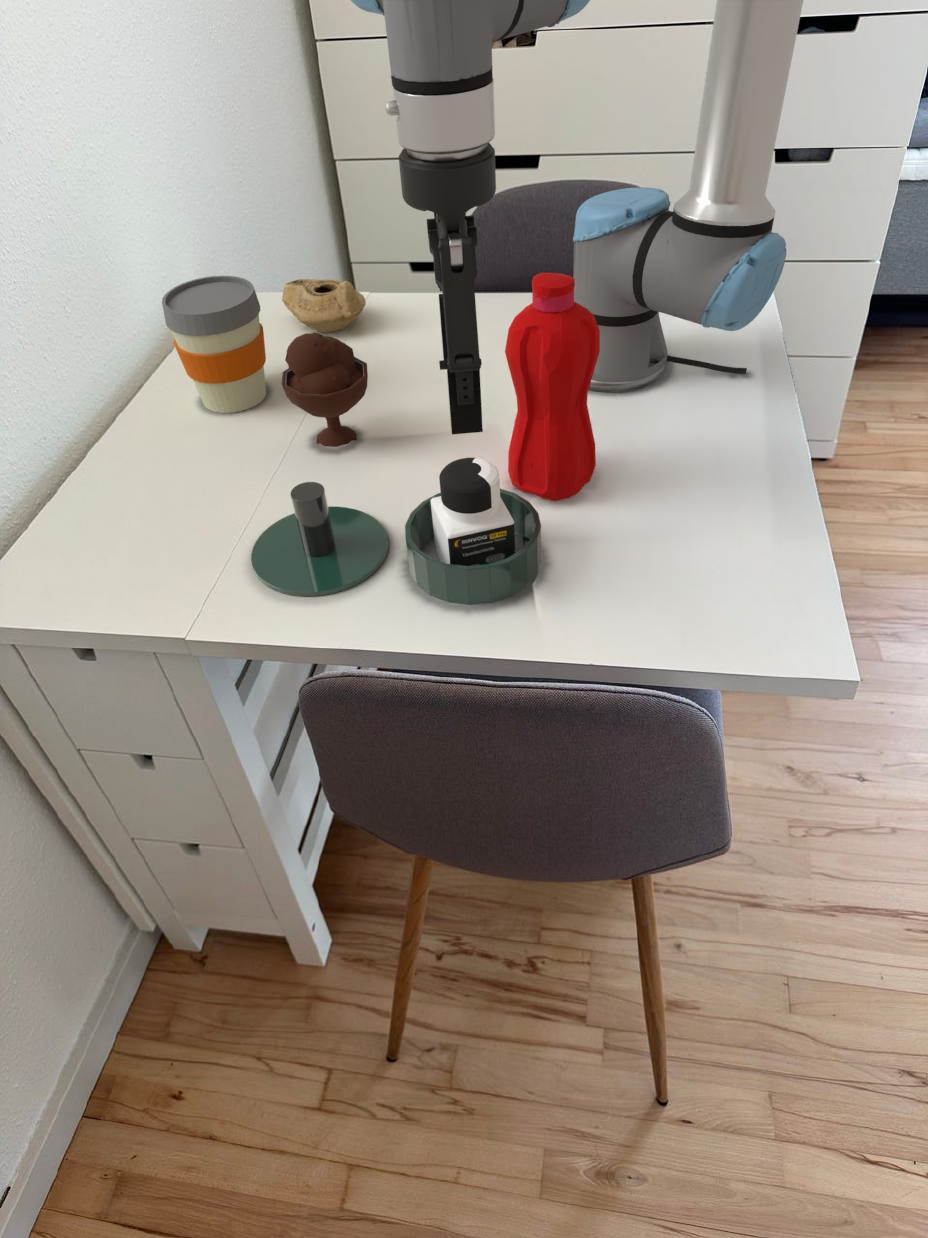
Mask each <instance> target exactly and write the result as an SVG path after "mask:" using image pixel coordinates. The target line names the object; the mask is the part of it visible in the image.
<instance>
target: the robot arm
mask: <svg viewBox="0 0 928 1238" xmlns="http://www.w3.org/2000/svg"><path fill="white" fill-rule="evenodd" d="M350 1H351V3H353V5H355V7H357V8H358V9H360V10H362V11H364V12H367V13H373V14H378V15H382V16H383V17H384V23H385V33H386V41H387V42H386V43H387V49H388V50H387V51H388V60H389V66H390V67H389V69H390V75H391V76H390V78H391V85H392V87H393V88H392V96H393V97H394V100H390V101H386V104H385V113H386V114H387V115H388V116H396V119H395V127H396V137H397V139H396V140H397V143H398V145H400V146H401V147H402V150H401V152H400V153H399V155H398V167H399V175H400V177H399V178H400V186H401V195H402V199H403V201H404V202H405V203H406V204H407V206H409V207H411V208H413V209H415V210H417V211H421V212H427V211H428V212H432V213H433V218H426V229H427V230H426V231H427V239H428V247H429V253H430V254H431V255H432V258H433V270H434V271H433V272H434V281H435V285H436V286H437V288H438V289H439V292H441V293H438V304H439V305H438V306H439V318H440V330H441V331H440V332H441V344H442V345H441V346H442V357H443V360H439V362H438V363H439V370H440V371H444V370H446V375H447V389H448V402H449V416H450V428H451V429H450V431H451V435H452V436H453V435H463V434H475V433H483V432H484V431H483V412H482V411H483V410H482V409H483V407H482V393H481V392H482V390H481V369H482V366H483V365H482V358H481V357H480V347H479V332H478V318H477V304H476V292H475V283H476V282H477V278H478V277H477V276H478V268H477V257H476V251H477V248H478V231H477V226H475V216H474V215H467V212H469V211H470V210H471V209H473V208H475V207H476V208H479V207H481V206H484V205H485V204H487V203H489V202H491V200H492V199H493V197H495V194H496V191H497V181H496V180H497V178H496V177H497V175H496V149H495V148H494V147H493V146H492V144H491V141H492V140H493V139H494V138H495V136H496V122H495V121H496V119H495V118H496V117H495V87H494V85H495V84H494V83H495V82H494V77H493V75H494V74H493V68H494V67H493V43H495V42H498V41H499V42H500V41H501V40H504V39H508V38H511V37H515V36H518V35H522V34H525V33H528V32H529V33H530V32H532V31H535V30H539V29H542V28H546V27H547V28H552V27H556V25H559V24H560V23H561V22H563V21H565V20H567V19H570V18H572V17H574V16H576V15H578V14H579V13H581V12H582V11H583V10H584V9H585V8H586V6H588V4H589V3H590V1H591V0H350ZM803 5H804V0H716V4H715V9H714V10H715V12H714V18H713V25H712V32H711V37H710V38H711V40H710V44H709V51H708V57H707V58H708V60H707V65H706V72H705V79H704V86H703V93H702V100H701V107H700V112H699V113H700V114H699V121H698V127H697V128H698V129H697V134H696V142H695V148H694V155H693V162H692V169H691V175H690V182H689V188H688V190H687V192H686V193H685V194H683V195H682V196H681V197H680V198H679V199H677V201H675V203H674V204H673V210H672V211H671V210H670V207H671V201H670V196H669V194H668V193H667V192H665V190H663V189H660V188H658V187H657V188H656V187H649V186H648V187H645V186H644V187H643V186H641V187H626V188H620V189H614V190H611V191H610V190H609V191H605V192H603V193H599V194H597V195H594V196H591V197H590V198H588V199H586V200H584V202H582V204H581V205H580V206H579V207H578V208H577V211H576V214H575V223H574V232H573V236H572V242H573V276H572V277H573V278H574V279H575V287H574V302H576V303H578V304H580V305H581V306H583V307H585V308H587V309H588V310H589V311H590V312H591V313H592V314H593V315H594V317H595V319H596V322H597V324H598V327H599V330H600V352H599V356H598V359H597V363H596V366H595V369H594V373H593V376H592V380H591V383H590V387H589V390H591V391H596V392H607V393H617V392H618V393H619V392H620V393H621V392H629V391H635V390H639V389H642V388H645V387H649V386H650V385H652V384H653V385H654V383H656V382H658V381H659V380H660V379H661V378H662V377H663V376H665V374H666V372H667V369H668V363H674V364H680V365H685V366H690V367H691V366H692V367H697V368H702V369H707V370H712V371H717V372H721V373H726V374H727V373H728V374H735V375H747V372H748V371H747V370H748V369H747V367H735V366H726V365H722V364H715V363H712V362H706V361H702V360H696V359H690V358H685V357H680V356H673V355H669V354H668V353H669V352H668V347H667V343H666V338H665V335H664V334H665V333H664V330H663V326H662V323H661V318H660V313H661V314H665V315H668V316H671V317H675V318H677V319H681V320H684V321H688V322H690V323H695V324H698V325H701V326H702V327H703V328H706V329H707V328H713V329H718V330H722V331H728V332H735V331H739V330H741V329H744V328H746V327H747V326H748V325H749V324H750V323H752V322H753V321H754V320H755V319H756V318H758V316H759V315H760V313H761V312H762V310H763V309H764V308H765V306H766V305H767V304H768V302H769V300H770V298H771V297H772V295H773V294H774V291H775V290H776V287H777V285H778V283H779V280H780V278H781V275H782V273H783V270H784V267H785V264H786V258H787V242H786V239H785V238H784V237H783V236H782V235H780V233H779V232H773V227H774V226H773V225H774V220H775V216H776V209H775V208H774V206H773V205H772V203H771V202H770V201H769V199H768V198H767V195H766V192H767V187H768V182H769V177H770V172H771V168H772V167H771V166H772V162H773V157H774V152H775V147H776V141H777V137H778V131H779V125H780V121H781V116H782V111H783V107H784V106H783V105H784V101H785V96H786V92H787V91H786V90H787V85H788V80H789V77H790V76H789V75H790V70H791V65H792V61H793V56H794V50H795V44H796V40H797V35H798V30H799V25H800V20H801V15H802V10H803Z"/></svg>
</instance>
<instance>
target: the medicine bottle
mask: <svg viewBox="0 0 928 1238" xmlns="http://www.w3.org/2000/svg"><path fill="white" fill-rule="evenodd" d="M438 476H439V477H438V478H439V489H440V493H441V496H439V497H435V498H432V499H431V510H432V520H433V530H434V536H433V539H434V548H435V549H434V550H435V552H436V554H437V556H438V559H439V561H441V562H444V563H447V564H454V565H463V566H473V565H483V564H490V563H493V562H496V561H500V560H503V559H506V558H508V557H510V556H511V555H513V554H515V553H516V540H515V539H516V537H515V535H516V534H515V533H516V532H515V531H514V520H513V518H512V517H511V515H510V513H509V511H508V510H507V508H506V506H505V504H504V502H503V501H502V499H501V497H500V489H501V486H500V485H501V484H500V470H499V469H498V467H497V466H496V465H494V463H492V462H491V461H489V460H486V459H484V458H480V457H463V458H458V459H455V460H452V461H451V462H449V463H448V464H446V465H445V466H444V467H443V469H442V470H441V471H440V473H439V475H438Z"/></svg>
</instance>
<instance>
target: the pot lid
mask: <svg viewBox="0 0 928 1238" xmlns="http://www.w3.org/2000/svg"><path fill="white" fill-rule="evenodd" d="M290 499H291V503H292V508H293V512H294V513H291V514H288V515H287V516H284V517H282V518H281V519H279V520H277V521H275V522H274V523H272V524H271V525H270V526H268V527H267V528H266V529H264V530H263V532H262V533H261V534H260V535H259V536H258V538H257V539H256V540H255V542H254V544H253V546H252V550H251V553H250V554H251V555H250V561H251V567H252V569H253V572H254V574H255V576H256V578H257V579H258V580H259V581H260V582H261V583H262V584H263V585H265V586H266V587H268V588H269V589H271V590H273V591H275V592H278V593H281V594H284V595H289V596H296V597H320V596H327V595H333V594H336V593H339V592H343V591H345V590H348V589H350V588H353V587H355V586H357V585H358V584H361V583H363V581H366V580H367V579H369V577H371V576H372V575H374V574H375V572H376V571H377V570H378V569H379V568H380V567H381V566H382V564H383V563H384V560H385V559H386V557H387V554H388V550H389V540H388V535H387V532H386V530H385V528H384V526H383V524H382V523H381V522H380V521H379V520H378V519H376V518H375V517H374V516H372V515H371V514H368V513H367V512H364V511H361V510H359V509H356V508H350V507H345V506H329V505H328V499H327V494H326V489H325V487H324V485H323V484H322V483H320V482H315V481H306V482H302V483H299V484H297V485H295V486H294V487H292V489H291V491H290Z"/></svg>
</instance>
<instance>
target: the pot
mask: <svg viewBox="0 0 928 1238" xmlns="http://www.w3.org/2000/svg"><path fill="white" fill-rule="evenodd" d="M439 496H441V492H438V493H436V494H434V495H432V496H430V497H428V498H426V499H425V500H423V501H422V502H420V503H419V505H417V506H416V507H415V508H414V509H413V510H412V511H411V512H410V513H409V516H408V518H407V521H406V522H405V525H404V533H405V534H404V535H405V544H406V551H407V560H408V561H407V562H408V567H409V568H408V569H409V573H410V576H411V577H412V579H413V580H414V581H413V582H415V584H416V586H417V587H419V588H420V589H421V590H423V591H424V592H425V593H427V594H428V595H430V597H433V598H435V599H439V600H440V601H441V600H442V601H443V602H447V603H451V604H459V605H469V606H473V605H484V604H493V603H495V602H498V601H502V600H504V599H508V598H511V597H513V596H515V595H516V594H518V593H519V592H521V591H523V590H524V589H526V588H527V587H528V586H529V585H530V584H531V585H533V584H534V583H535V581H536V579H537V577H538V576H539V574H540V570H541V565H542V523H541V519H540V513H539V512H538V511H537V510H536V508H535V507H534V506H533V504H531V502H530V501H529V500H527V499H525V498H524V497H522V496H521V495H519V494H517V493H515V492H514V491H513V492H512V491H509V490H506V489H502V488H500V497H501V499H502V501H503V502H504V504H505V506H506V508H507V510H508V511H509V513H510V515H511V517H512V518H513V520H514V531H515V533H516V534H517V535H519V536H520V537H522V541H523V542H522V543H523V547H522V548H521V549H520V550H518V551H517V552H516V551H515V554H513V555H511V556H510V557H508V558H506V559H503V560H500V561H496V562H493V563H490V564H483V565H473V566H463V565H454V564H447V563H444V562H441V561H440V560H438V559H436V558H433V557H430V556H429V555H428V554H426V553H425V552H423V551H422V550H421V548H422V547H423V546H424V545H425V544H426V543H427V542H428V541H429V540H430V539H431V538H432V537H433V538H434V530H433V520H432V510H431V499H432V498H435V497H439Z"/></svg>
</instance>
